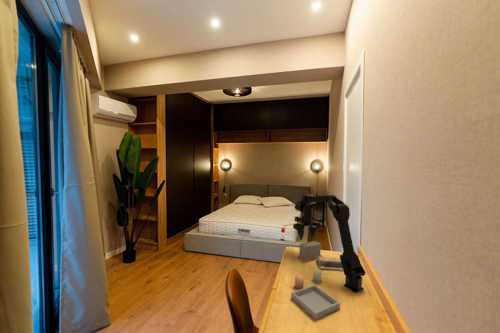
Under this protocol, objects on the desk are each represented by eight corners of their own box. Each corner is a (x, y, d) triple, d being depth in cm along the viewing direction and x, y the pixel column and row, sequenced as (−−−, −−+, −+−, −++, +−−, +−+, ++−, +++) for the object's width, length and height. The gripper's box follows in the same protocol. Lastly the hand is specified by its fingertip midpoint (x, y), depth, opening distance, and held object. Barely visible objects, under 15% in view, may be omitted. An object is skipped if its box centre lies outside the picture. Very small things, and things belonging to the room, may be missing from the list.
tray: (339, 308, 87) (340, 302, 87) (315, 320, 80) (315, 313, 80) (314, 289, 99) (314, 284, 99) (291, 298, 92) (291, 292, 92)
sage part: (322, 281, 106) (323, 272, 106) (317, 283, 104) (317, 273, 104) (316, 277, 110) (317, 268, 109) (311, 279, 108) (311, 270, 107)
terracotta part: (304, 288, 100) (305, 277, 100) (298, 290, 98) (299, 279, 98) (299, 283, 104) (299, 273, 103) (292, 285, 102) (293, 275, 102)
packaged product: (320, 261, 118) (315, 254, 128) (319, 270, 118) (315, 261, 128) (353, 264, 116) (346, 256, 126) (352, 273, 117) (346, 264, 126)
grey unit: (321, 257, 133) (322, 243, 132) (304, 262, 125) (304, 247, 125) (314, 253, 138) (315, 240, 138) (297, 258, 131) (297, 243, 130)
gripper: (309, 210, 145) (308, 232, 146) (288, 212, 136) (286, 236, 137) (321, 214, 136) (320, 238, 136) (300, 217, 126) (298, 242, 127)
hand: (306, 238), depth 134 cm, fingers open, 9 cm apart
